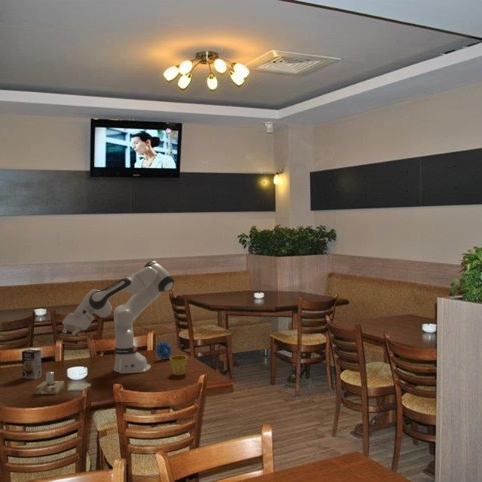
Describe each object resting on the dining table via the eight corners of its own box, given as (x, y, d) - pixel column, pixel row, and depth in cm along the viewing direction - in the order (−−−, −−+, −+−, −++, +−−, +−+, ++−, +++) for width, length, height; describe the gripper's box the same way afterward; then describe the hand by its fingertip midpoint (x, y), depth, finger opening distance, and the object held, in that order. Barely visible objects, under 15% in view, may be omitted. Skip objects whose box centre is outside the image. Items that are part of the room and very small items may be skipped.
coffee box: (22, 378, 345) (21, 351, 344) (29, 375, 351) (28, 348, 350) (34, 379, 342) (33, 352, 341) (42, 376, 348) (41, 349, 347)
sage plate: (91, 385, 328) (91, 383, 328) (85, 391, 318) (85, 389, 318) (73, 385, 329) (73, 383, 328) (67, 391, 319) (67, 389, 318)
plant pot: (187, 375, 342) (187, 359, 341) (169, 376, 341) (169, 360, 341) (187, 370, 352) (187, 354, 352) (170, 371, 352) (170, 355, 351)
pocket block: (64, 387, 326) (64, 381, 325) (56, 393, 314) (56, 387, 314) (44, 387, 326) (44, 381, 326) (36, 393, 315) (35, 387, 315)
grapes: (158, 362, 374) (157, 343, 373) (154, 359, 380) (153, 341, 379) (174, 359, 380) (174, 341, 379) (170, 357, 385) (170, 339, 385)
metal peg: (55, 389, 322) (54, 371, 321) (52, 391, 318) (51, 373, 317) (48, 389, 322) (47, 371, 322) (45, 391, 318) (44, 373, 318)
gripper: (68, 308, 340) (54, 328, 333) (89, 312, 326) (75, 332, 320) (75, 315, 343) (61, 334, 336) (96, 318, 330) (82, 339, 323)
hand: (68, 333), depth 328 cm, fingers open, 8 cm apart
